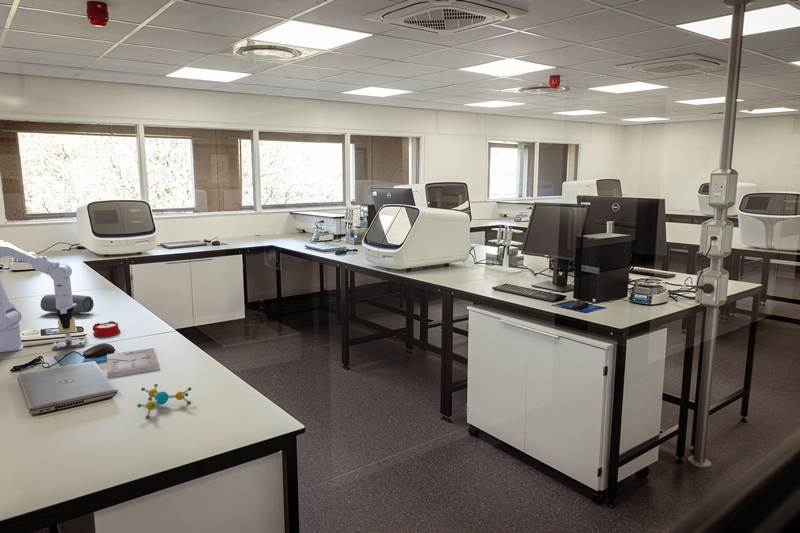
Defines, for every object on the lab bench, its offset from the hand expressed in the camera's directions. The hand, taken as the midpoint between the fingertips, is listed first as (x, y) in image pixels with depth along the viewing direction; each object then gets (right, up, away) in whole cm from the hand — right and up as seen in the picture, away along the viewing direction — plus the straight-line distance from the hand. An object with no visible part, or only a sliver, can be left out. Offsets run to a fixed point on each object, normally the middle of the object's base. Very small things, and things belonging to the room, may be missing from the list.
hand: (67, 326), depth 211 cm
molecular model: (+63, -18, -53) cm, 85 cm away
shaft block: (0, -8, +1) cm, 8 cm away
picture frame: (+37, -13, -18) cm, 43 cm away
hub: (0, -2, 0) cm, 2 cm away
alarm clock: (+5, -5, +20) cm, 21 cm away
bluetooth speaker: (-32, 0, +51) cm, 60 cm away
